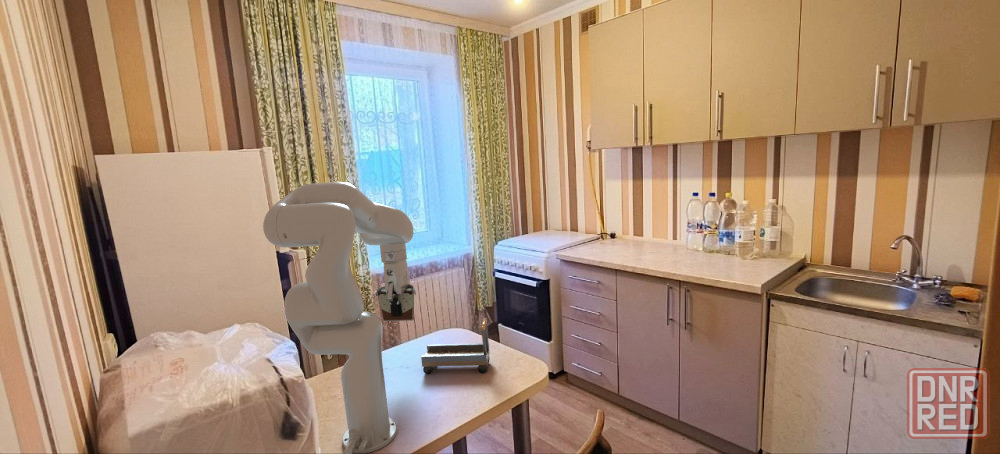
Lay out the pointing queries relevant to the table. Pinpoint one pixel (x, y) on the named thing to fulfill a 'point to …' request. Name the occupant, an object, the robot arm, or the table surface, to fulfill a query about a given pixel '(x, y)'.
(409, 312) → the food container
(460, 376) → the table surface
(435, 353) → the trolley
